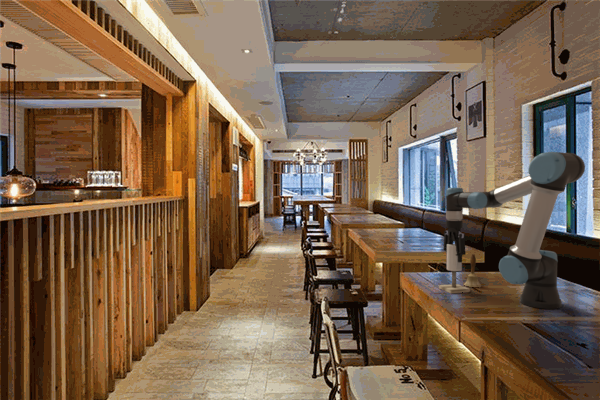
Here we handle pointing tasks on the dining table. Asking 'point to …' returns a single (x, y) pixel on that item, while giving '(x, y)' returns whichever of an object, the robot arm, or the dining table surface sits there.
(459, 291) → the stand
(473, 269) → the hand bell
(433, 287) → the dining table surface
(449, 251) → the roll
